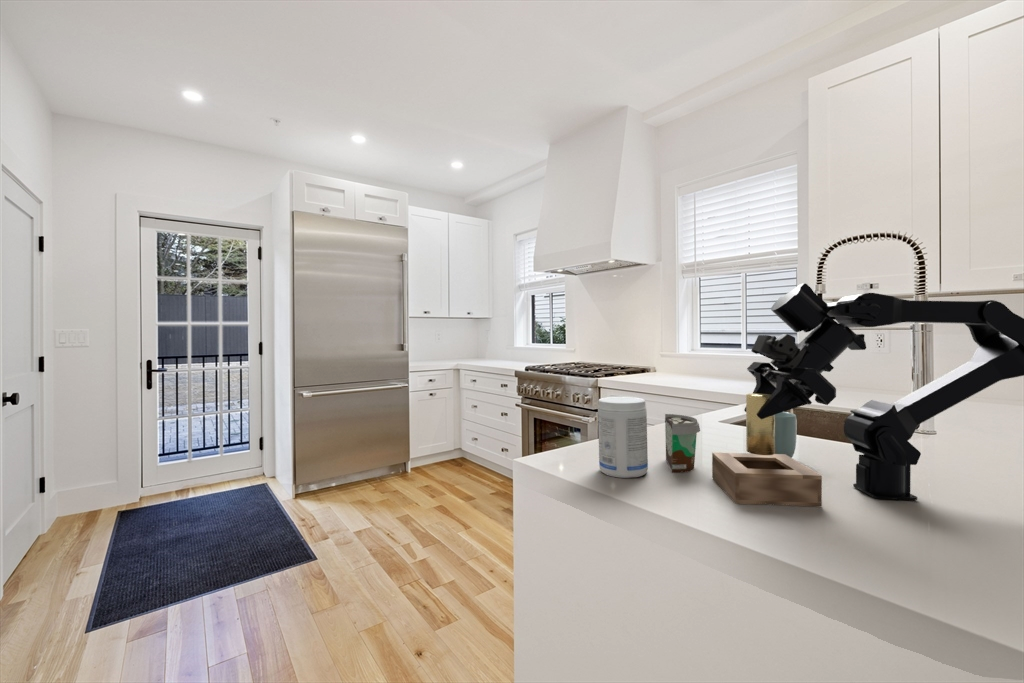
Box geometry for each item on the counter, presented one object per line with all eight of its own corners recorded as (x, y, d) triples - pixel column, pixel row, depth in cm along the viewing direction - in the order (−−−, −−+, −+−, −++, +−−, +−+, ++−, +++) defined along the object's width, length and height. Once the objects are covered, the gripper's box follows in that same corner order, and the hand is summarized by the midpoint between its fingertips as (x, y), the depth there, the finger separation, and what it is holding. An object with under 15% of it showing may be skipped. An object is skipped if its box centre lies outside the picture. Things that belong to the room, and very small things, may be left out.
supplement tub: (645, 466, 97) (645, 396, 96) (650, 480, 87) (649, 403, 87) (598, 464, 98) (597, 395, 98) (598, 478, 89) (597, 402, 89)
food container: (706, 476, 89) (706, 425, 89) (672, 474, 91) (672, 424, 90) (694, 459, 101) (694, 414, 101) (665, 458, 103) (664, 413, 102)
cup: (763, 463, 98) (762, 416, 98) (750, 453, 105) (750, 410, 105) (802, 464, 96) (802, 417, 96) (787, 454, 104) (787, 410, 104)
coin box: (785, 480, 86) (785, 454, 86) (821, 506, 73) (821, 475, 73) (712, 478, 88) (712, 452, 88) (735, 503, 75) (735, 473, 75)
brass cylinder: (774, 450, 82) (773, 394, 81) (775, 456, 78) (775, 397, 77) (746, 447, 84) (746, 393, 83) (746, 453, 80) (746, 396, 79)
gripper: (757, 320, 89) (700, 377, 90) (815, 316, 71) (742, 388, 71) (799, 360, 89) (741, 417, 90) (869, 367, 70) (795, 439, 71)
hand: (752, 414), depth 81 cm, fingers closed on brass cylinder, 4 cm apart
